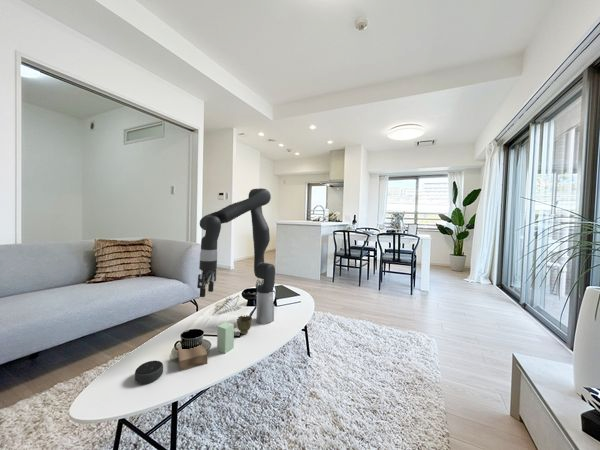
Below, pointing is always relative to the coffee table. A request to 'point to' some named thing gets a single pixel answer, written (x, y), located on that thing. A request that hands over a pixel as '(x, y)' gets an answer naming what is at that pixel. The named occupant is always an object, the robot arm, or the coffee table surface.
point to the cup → (244, 324)
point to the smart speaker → (148, 372)
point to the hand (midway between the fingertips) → (206, 294)
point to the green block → (225, 337)
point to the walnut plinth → (192, 357)
